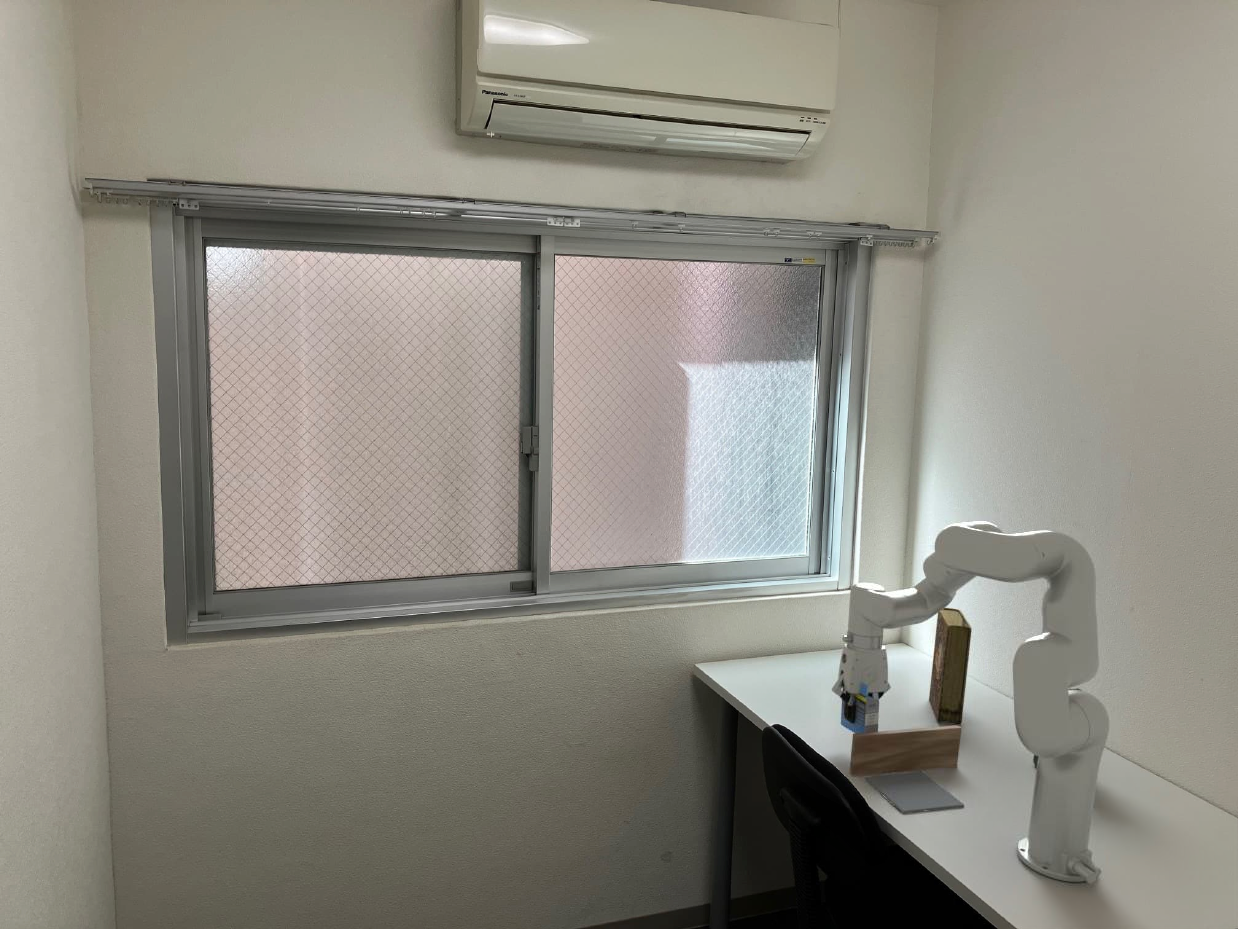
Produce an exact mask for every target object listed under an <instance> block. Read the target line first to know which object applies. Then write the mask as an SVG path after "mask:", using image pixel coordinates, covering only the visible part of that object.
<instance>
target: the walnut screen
mask: <svg viewBox="0 0 1238 929" xmlns="http://www.w3.org/2000/svg"><path fill="white" fill-rule="evenodd" d="M961 734H962V727H961V725H959V724H955V725H944V726H931V727H919V728H909V729H896V730H884V731H878V732H867V733H852V740H851V741H852V743H851V751H850V762H849V771H848V772H849V773H848V774H849V775H850V776H851V777H861V776H874V775H885V774H893V773H892V772H894V773H906V772H916V771H924V770H936V769H944V768H954V767H955V768H957V767H958V763H959V755H960V754H959V752H960V746H961V744H960V743H961Z"/></svg>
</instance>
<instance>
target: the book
mask: <svg viewBox="0 0 1238 929" xmlns="http://www.w3.org/2000/svg"><path fill="white" fill-rule="evenodd" d="M972 631H973V630H972V626H971V625H970V623H969V621H968V619H966V617H965V615H964V614H963V611H961V609H956V608H951V607H945V608H944V609H942V610H941V611H940V612H938V613H937V618H936V627H935V636H934V647H933V658H932V659H933V660H932V668H931V676H930V685H929V686H930V687H929V696H928V701H929V704H930V708H931V711H932V712H933V715H934V717H935V720H936V722H937V723H943V722H945V723H953V724H955V725H958V726H962V722H963V715H964V714H963V713H964V707H965V706H964V703H965V695H966V687H967V675H968V667H969V657H970V649H971V648H970V647H971V641H972V640H971V638H972Z"/></svg>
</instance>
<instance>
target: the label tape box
mask: <svg viewBox="0 0 1238 929" xmlns="http://www.w3.org/2000/svg"><path fill="white" fill-rule="evenodd" d="M867 689H868V685H865V684H864V683H863V685H862V692H861V694H856V696H855V700H854V704H853V705H854V706H855V707H856V710H855V722H854V723H850V722H849V721H848V720H846V719H845V717H844V706H845V702H844V701H843V700H842V699H841V710H840V711H841V712H840V725H841V726H842V727H844V728H846V729H847V730H849V731H851V732H852V733H853V734H855V733H867V732H879V718H880V717H879V716H880V715H879V714H880V713H879V712H880V711H879V710H880V700H879V701H878V700H876V699H874V698H872V697H871V696H869V695H867ZM841 691H842V692H844V691H845V688H842V689H841Z"/></svg>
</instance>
